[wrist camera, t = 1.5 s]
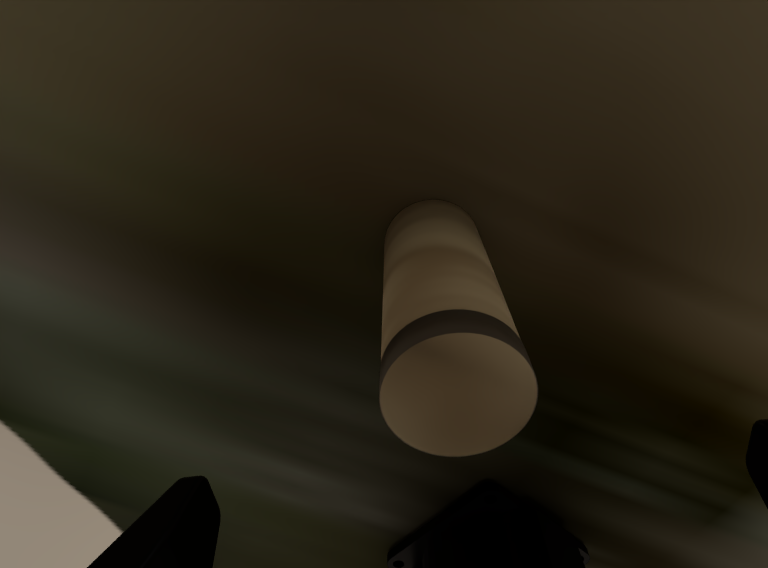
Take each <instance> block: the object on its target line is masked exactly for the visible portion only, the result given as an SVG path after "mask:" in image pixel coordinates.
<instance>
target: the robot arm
mask: <svg viewBox="0 0 768 568" xmlns="http://www.w3.org/2000/svg"><path fill="white" fill-rule="evenodd" d="M746 465H747V469H748V472H749V474H750V476H751V478H752V480H753V482H754V484H755V486H756V488H757V489H758V491H759V493H760V495H761V497H762V499H763V501H764V503H765V505H766V507H767V509H768V419H762V420H758V421H756V422H755V423H754V424H753V427H752V431H751V436H750V440H749V445H748V450H747V454H746ZM488 495H491V496H488ZM219 526H220V509H219V506H218V503H217V501H216V498H215V496H214V494H213V491H212V489H211V486H210V484H209V482H208V480H207V478H205V477H204V476H192V477H184V478H181V479H179V480H178V481H176V482H175V483H174V484H173V485H172V486H171V487H170V488H169V489H168V490H167V491H166V492H165V493H164V494H163V495H162V496H161V497H160V498H159V499H158V500H157V501H156V502H155V503H154V504H153V505H151V506H150V507H149V508H148V509H147V510H146V511H145V512H144V513H143V514H142V515H141V516H140V517H139V518H138V519H137V520H136V521H135V522H134V523H133V524H132V525H131V526H130V527H129V528H128V529H127V530H126V531H125V532H123V533H122V534H121V535H120V536H119V537H118V538H117V539H116V540H115V541H114V542H113V543H112V544H111V545H110V546H109V547H108V548H107V549H106V550H105V551H104V552H103V553H102V554H101V555H100V556H99V557H98V558H97V559H95V560H94V561H93V563H91V565H89V566H88V567H87V568H212V567H213V561H214V556H215V550H216V544H217V538H218V532H219ZM589 560H590V556H589V554H588V551H587V548H586V547H585V546H584V545H583V544H582V543H580V542H579V541H577V540H576V539H575V537H574V536H573V535H572V534H570V533H569V532H568V531H566V530H565V529H563V528H562V527H560V526H559V525H558V524H556V523H555V522H553V521H552V520H550V519H549V518H548V517H546V516H545V515H543V514H542V513H541V512H539V511H538V510H535V509H532V508H530V507H529V506H527V505H526V504H525V503H523V502H522V501H520V500H519V499H517V498H516V497H515V496H513V495H512V494H510V493H509V492H507V491H506V490H505V489H503V488H502V487H500V486H499V485H497V484H495V483H485V484H483V485H481V486H479V487H478V488H476V489H475V490H474V491H472V492H471V493H469V494H468V495H467V496H465V497H464V498H463V499H461V500H460V501H458V502H457V503H456V504H454V505H453V506H451V507H450V508H449V509H447V510H446V511H445V512H443V513H442V514H440V515H439V516H438V517H436V518H435V519H433V520H432V521H431V522H429V523H428V524H427V525H425V526H424V527H422V528H421V529H420V530H418V531H417V532H415V533H414V534H413V535H411V536H410V537H409V538H407V539H406V540H404V541H403V542H402V543H400V544H399V545H397V546H396V547H395V548H393V549H392V550H391V551H390V552H389V553H388V555H387V565H388V567H389V568H585V564H587V563H588V562H589Z"/></svg>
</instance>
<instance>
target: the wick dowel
mask: <svg viewBox="0 0 768 568" xmlns="http://www.w3.org/2000/svg"><path fill="white" fill-rule="evenodd" d="M537 399H538V383H537V378H536V375H535V372H534V370H533V367H532V364H531V362H530V359H529V357H528V354H527V352H526V349H525V347H524V345H523V343H522V341H521V339H520V337H519V334H518V332H517V329H516V327H515V324H514V322H513V319H512V317H511V314H510V311H509V309H508V306H507V304H506V301H505V299H504V296H503V294H502V291H501V289H500V286H499V284H498V281H497V278H496V276H495V273H494V271H493V268H492V266H491V263H490V261H489V258H488V256H487V253H486V250H485V248H484V245H483V243H482V240H481V238H480V235H479V233H478V230H477V228H476V225H475V223H474V221H473V220H472V218H471V217H470V216H469V215H468V214H467V212H466V211H464V210H463V209H462V208H460V207H459V206H457V205H455V204H453V203H450V202H447V201H444V200H423V201H419V202H416V203H414V204H411V205H409V206H408V207H406V208H404V209H403V210H402V211H400V212H399V213H398V214H397V215H396V216H395V218H394V219H393V220H392V222H391V223H390V225H389V227H388V229H387V232H386V236H385V246H384V279H383V312H382V345H381V364H380V378H379V405H380V410H381V413H382V416H383V419H384V421H385V422H386V424H387V426H388V427H389V428H390V430H391V431H392V432H393V433H394V434H395V435H396V436H397V437H398V438H399V439H400V440H402V441H403V442H404V443H406V444H407V445H409V446H411V447H412V448H415V449H417V450H419V451H422V452H425V453H428V454H432V455H436V456H443V457H466V456H472V455H478V454H481V453H485V452H488V451H490V450H493V449H495V448H497V447H499V446H501V445H503V444H505V443H506V442H508V441H509V440H511V439H512V438H513V437H515V436H516V435H517V434H518V433H519V432H520V431H521V430H522V429H523V428H524V427H525V426H526V424H527V423H528V421H529V420H530V418H531V416H532V415H533V413H534V410H535V407H536V404H537Z"/></svg>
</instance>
